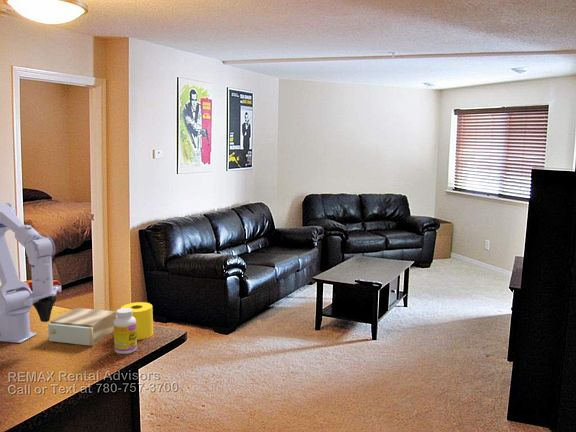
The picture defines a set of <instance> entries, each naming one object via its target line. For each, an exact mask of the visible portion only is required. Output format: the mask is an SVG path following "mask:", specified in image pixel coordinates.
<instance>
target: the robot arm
mask: <svg viewBox="0 0 576 432" xmlns="http://www.w3.org/2000/svg"><path fill="white" fill-rule="evenodd" d="M16 211H17V210H16V208H15V206H13V204H12V203H10V202H6V203H1V204H0V342H7V343H17V344H21V343H23V342H25V341H26V340H28V339H31V338H32V337H34V336H36V335H37V332H34V331H33V332H32V331H31V324H30V311H31V310H32V307H34V308H35V310H36V312H37V314H38V317H39V320H40V322H41V323H48V322H49V321H51V320H50V319H51V315H52V310H53V307H54V304H55V302H56V301H57V297H56V295H57V293H61V292H62V285H58V284H57V285H54V281H53V280H54V279H53V264H52V263H53V262H52V260H53V259H52V256H53V255H55V252H56V245H55V243H54V240H53V239H52V238H51V237H50V236H42V235H41V234H40V233H39V232H38V231H37V230H36V229H35V228H34V227H33V226H32V225H30V224H24V222H23V221H21V219H20V218H19V217H18V216H17V212H16ZM9 230H11V231H12V232H13V233H14V239H15V240H16V241H17V242H19V244H20V245H21V246H22V247H24V249H25V255H26V256H27V258H28V263H29V265H30V269H31V270H30V271H31V283H32V284H31V286H32V290H31V288H30V285H29V283H27V282H25V281H23V280H21V279H20V278H19V275H18V273H17V270H16V267H15V266H16V265H15V263H14V261H13V258H12V255H11V251H10V249H9V245H8V241H7V239H6V237H5V236H6V235H5V233H6V232H8V231H9Z"/></svg>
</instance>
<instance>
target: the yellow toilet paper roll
mask: <svg viewBox="0 0 576 432" xmlns="http://www.w3.org/2000/svg"><path fill="white" fill-rule="evenodd" d="M121 308H131V309H132V311H133V314H132V316H133V317H134V318H135V319H136V331H137V341H140V340H146V339H149V338H150V337H152V336H153V335H154V318H153V317H154V314H153V311H154V309H153V305H152V304H151V303H150V302H143V301H142V302H140V301H138V302H131V303H127V304H124V305H122V306H121V307H120V309H121Z"/></svg>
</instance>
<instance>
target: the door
mask: <svg viewBox="0 0 576 432" xmlns="http://www.w3.org/2000/svg"><path fill="white" fill-rule="evenodd" d="M47 329H48V330H47V331H48V340H49V342H55V343H56V342H57V343H62V344H66V343H67V344H74V345H82V346H83V345H84V346H90V347H93V346H94V345H95V344H94V339H93V327H83V326H73V325H64V324H54V323H51V322H50V323H47Z"/></svg>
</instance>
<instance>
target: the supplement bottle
mask: <svg viewBox="0 0 576 432" xmlns="http://www.w3.org/2000/svg"><path fill="white" fill-rule="evenodd" d="M132 314H133V311H132V309H131V308H121V307H120V308H118V309H117V310H116V319H115V320H114V332H113V342H114V344H113V345H114V352H115V353H117V354H120V355H127V354H132V353H134V352H135V351H136V350H137V349H138V340H137V331H136V319H135V318H134V317H133V316H132Z"/></svg>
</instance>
